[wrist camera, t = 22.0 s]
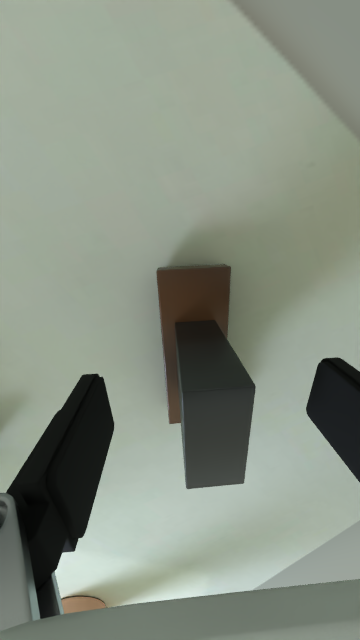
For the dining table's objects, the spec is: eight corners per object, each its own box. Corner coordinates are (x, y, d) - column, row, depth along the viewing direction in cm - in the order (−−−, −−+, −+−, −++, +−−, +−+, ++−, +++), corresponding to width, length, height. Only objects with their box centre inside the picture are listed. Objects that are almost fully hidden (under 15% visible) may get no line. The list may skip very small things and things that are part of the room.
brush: (157, 266, 12) (145, 300, 5) (223, 263, 12) (297, 292, 5) (169, 407, 16) (170, 531, 9) (218, 403, 16) (256, 522, 9)
